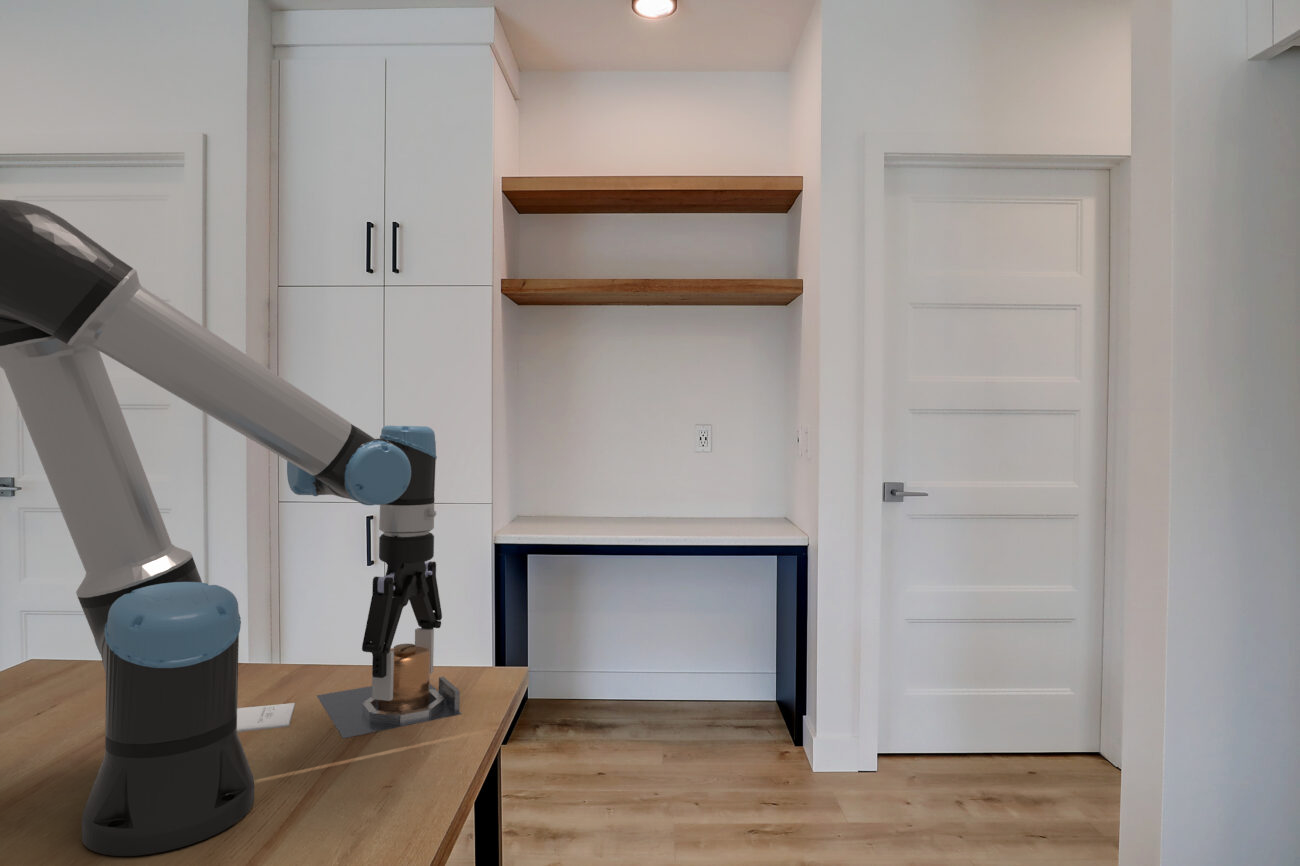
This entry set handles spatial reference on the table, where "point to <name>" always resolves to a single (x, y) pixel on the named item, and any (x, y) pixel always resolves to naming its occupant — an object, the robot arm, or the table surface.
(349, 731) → the plate
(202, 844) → the table surface
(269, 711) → the external hard drive
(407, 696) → the copper knobbed cylinder
